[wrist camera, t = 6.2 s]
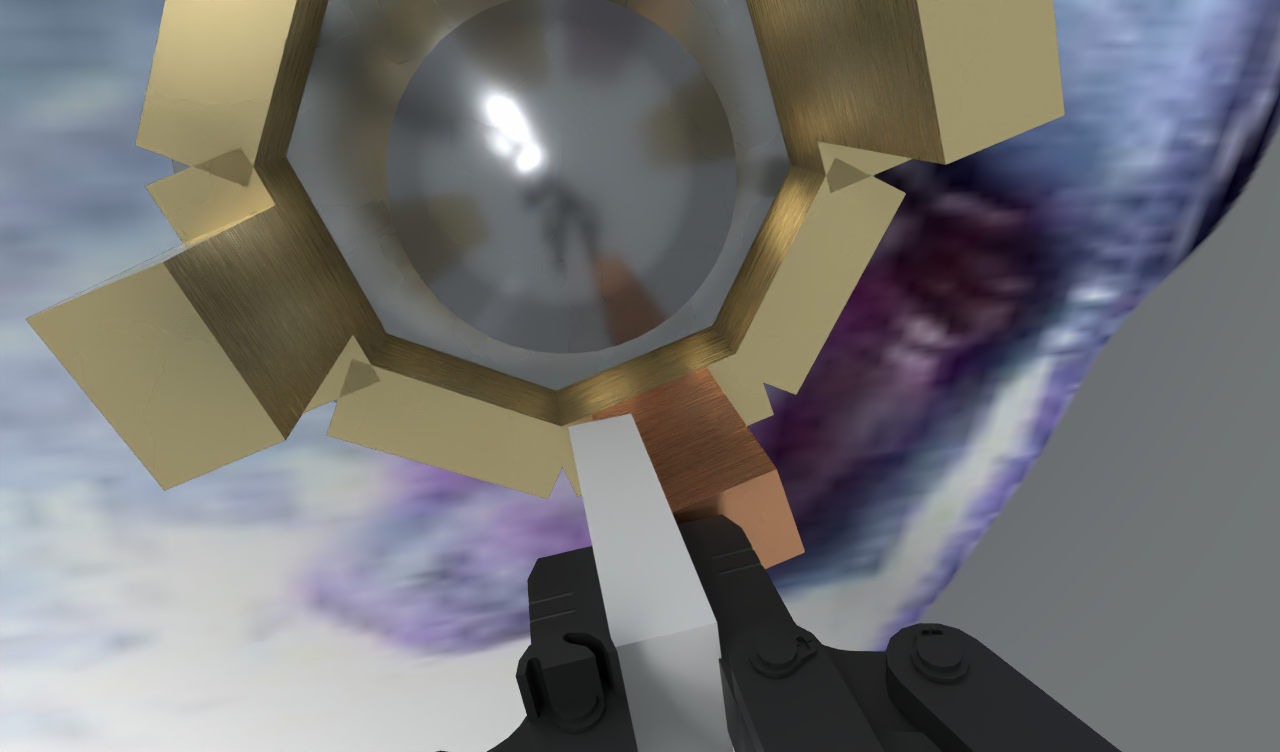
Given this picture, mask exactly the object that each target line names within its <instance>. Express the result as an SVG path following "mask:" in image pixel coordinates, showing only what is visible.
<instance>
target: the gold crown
mask: <svg viewBox="0 0 1280 752" xmlns="http://www.w3.org/2000/svg"><path fill="white" fill-rule="evenodd" d="M328 2H329V0H165V5H164V10H163V14H162V19H161V24H160V29H159V34H158V38H157V43H156V48H155V53H154V58H153V62H152V67H151V72H150V77H149V81H148V86H147V91H146V96H145V101H144V105H143V110H142V115H141V120H140V125H139V129H138V134H137V139H136V144H135V145H136V146H139V147H141V148H144V149H147V150H149V151H152V152H155V153H157V154H160V155H163V156H165V157H168V158H170V159H173V160H176V161H178V162H181V163H184V164H186V165H189V166H192V167H190V168H188V169H185V170H183V171H180V172H178V173H175V174H173V175H171V176H168V177H166V178H163V179H161V180H158V181H156V182H154V183H151V184H149V185H146V186H145V187H146V189H147V190H148V192H149V193H150V195H151V196H152V198H153V199H154V201H155V202H156V203H157V205H158V206H159V208H160V209H161V211H162V212H163V214H164V215H165V217H166V218H167V220H168V221H169V223H170V224H171V226H172V227H173V229H174V230H175V232H176V233H177V235H178V236H179V238H180V239H181V241H182V242H183V244H181V245H179V246H176V247H174V248H172V249H170V250H168V251H166V252H164V253H162V254H160V255H158V256H156V257H153V258H151V259H149V260H147V261H145V262H143V263H141V264H139V265H137V266H135V267H133V268H131V269H128V270H126V271H124V272H122V273H120V274H118V275H116V276H114V277H112V278H110V279H108V280H105V281H103V282H101V283H99V284H97V285H95V286H93V287H91V288H89V289H87V290H85V291H83V292H80V293H78V294H76V295H74V296H72V297H70V298H68V299H66V300H64V301H62V302H60V303H57V304H55V305H53V306H51V307H49V308H47V309H45V310H43V311H41V312H39V313H37V314H35V315H32V316H30V317H28V318H26V320H27V322H28V323H29V324H30V325H31V327H32V328H33V329H34V330H35V332H36V333H37V334H38V335H39V336H40V338H41V339H42V340H43V341H44V343H45V344H46V345H47V346H48V348H49V349H50V350H51V351H52V353H53V354H54V355H55V356H56V357H57V359H58V360H59V361H60V362H61V364H62V365H63V366H64V367H65V369H66V370H67V371H68V372H69V374H70V375H71V376H72V377H73V378H74V380H75V381H76V382H77V383H78V385H79V386H80V387H81V388H82V390H83V391H84V392H85V393H86V394H87V396H88V397H89V398H90V399H91V401H92V402H93V403H94V404H95V406H96V407H97V408H98V409H99V411H100V412H101V413H102V414H103V415H104V417H105V418H106V419H107V420H108V422H109V423H110V424H111V425H112V427H113V428H114V429H115V430H116V432H117V433H118V434H119V435H120V436H121V438H122V439H123V440H124V441H125V443H126V444H127V445H128V446H129V448H130V449H131V450H132V451H133V453H134V454H135V455H136V456H137V457H138V459H139V460H140V461H141V462H142V464H143V465H144V466H145V467H146V469H147V470H148V471H149V472H150V474H151V475H152V476H153V477H154V478H155V480H156V481H157V482H158V483H159V485H160V486H161V487H162V488H163V490H164V491H165V490H167V489H170V488H172V487H174V486H177V485H179V484H182V483H184V482H186V481H189V480H191V479H194V478H196V477H198V476H201V475H203V474H206V473H208V472H210V471H213V470H215V469H218V468H220V467H222V466H225V465H227V464H230V463H232V462H234V461H237V460H239V459H242V458H244V457H246V456H249V455H251V454H254V453H256V452H258V451H261V450H263V449H266V448H268V447H270V446H273V445H275V444H278V443H280V442H282V441H285V440H286V439H287V437H288V436H289V434H290V432H291V431H292V429H293V428H294V426H295V425H296V423H297V422H298V420H299V418H300V417H301V415H302V414H303V413H305V412H307V411H309V410H312V409H314V408H317V407H319V406H321V405H324V404H326V403H329V402H331V401H333V400H336V399H338V398H339V399H338V402H337V405H336V408H335V411H334V414H333V417H332V420H331V423H330V426H329V429H328V432H327V436H331V437H334V438H338V439H341V440H345V441H348V442H352V443H355V444H358V445H362V446H365V447H369V448H372V449H376V450H379V451H383V452H386V453H390V454H393V455H397V456H400V457H404V458H407V459H410V460H414V461H417V462H421V463H424V464H428V465H431V466H435V467H438V468H442V469H445V470H449V471H452V472H456V473H459V474H462V475H466V476H469V477H473V478H476V479H480V480H483V481H487V482H490V483H494V484H497V485H501V486H504V487H508V488H511V489H514V490H518V491H521V492H525V493H528V494H532V495H535V496H539V497H542V498H546V499H548V497H549V495H550V493H551V491H552V488H553V486H554V484H555V482H556V480H557V477H558V475H559V473H560V471H561V468H562V467H563V469H564V471H565V473H566V475H567V477H568V479H569V481H570V483H571V485H572V487H573V489H574V491H575V493H576V495H577V497H579V496H581V495H582V493H581V488H580V483H579V478H578V473H577V468H576V463H575V458H574V453H573V449H572V444H571V439H570V434H569V429H568V427H569V426H574V425H578V424H583V423H588V422H592V421H597V420H603V419H607V418H612V417H617V416H621V415H626V414H632V417H633V419H634V421H635V424H636V426H637V429H638V431H639V434H640V436H641V438H642V441H643V443H644V446H645V448H646V451H647V453H648V456H649V458H650V460H651V463H652V465H653V468H654V470H655V473H656V475H657V477H658V480H659V482H660V485H661V487H662V490H663V492H664V494H665V497H666V499H667V502H668V504H669V507H670V509H671V512H672V514H673V516H674V519H675V521H676V524H682V523H686V522H690V521H695V520H699V519H703V518H707V517H712V516H716V515H720V514H723V515H724V516H726V517H727V518H729V519H730V520H731V521H733V522H734V523H736V524H737V525H739V526H740V527H742V529H743V531H744V532H745V534H746V536H747V538H748V540H749V542H750V543H751V545H752V548H753V550H754V551H755V552H756V554H757V556H758V558H759V560H760V561H761V565H763V567H764V569H767V568H769V567H771V566H774V565H776V564H778V563H781V562H783V561H786V560H788V559H790V558H793V557H795V556H797V555H800V554H802V553H804V552H805V551H804V548H803V545H802V542H801V539H800V536H799V533H798V530H797V527H796V524H795V521H794V518H793V515H792V512H791V509H790V507H789V504H788V501H787V498H786V495H785V492H784V489H783V486H782V483H781V480H780V477H779V474H778V471H777V469H776V467H775V466H774V464H773V463H772V461H771V460H770V459H769V457H768V456H767V454H766V453H765V451H764V450H763V448H762V447H761V445H760V444H759V443H758V441H757V440H756V438H755V437H754V435H753V434H752V432H751V431H750V430H749V428H748V427H747V426H748V425H751V424H753V423H755V422H758V421H760V420H763V419H765V418H767V417H770V416H772V415H774V414H773V411H772V408H771V405H770V402H769V399H768V396H767V393H766V390H765V387H764V383H766V384H769V385H771V386H774V387H777V388H779V389H782V390H785V391H787V392H790V393H793V394H795V395H796V394H797V393H798V391H799V389H800V387H801V385H802V383H803V382H804V380H805V378H806V376H807V374H808V372H809V371H810V369H811V367H812V365H813V363H814V361H815V360H816V358H817V356H818V354H819V352H820V350H821V349H822V347H823V345H824V343H825V341H826V339H827V338H828V336H829V334H830V332H831V330H832V328H833V327H834V325H835V323H836V321H837V319H838V317H839V316H840V314H841V312H842V310H843V308H844V306H845V305H846V303H847V301H848V299H849V297H850V295H851V294H852V292H853V290H854V288H855V286H856V284H857V283H858V281H859V279H860V277H861V275H862V273H863V272H864V270H865V268H866V266H867V264H868V262H869V261H870V259H871V257H872V255H873V253H874V251H875V250H876V248H877V246H878V244H879V242H880V240H881V239H882V237H883V235H884V233H885V231H886V229H887V228H888V226H889V224H890V222H891V220H892V218H893V217H894V215H895V213H896V211H897V209H898V207H899V206H900V204H901V202H902V200H903V198H904V196H905V195H906V193H904V192H902V191H900V190H899V189H897V188H895V187H893V186H891V185H889V184H887V183H885V182H883V181H881V180H879V179H877V178H875V177H873V175H875V174H878V173H880V172H883V171H885V170H887V169H890V168H892V167H895V166H897V165H899V164H902V163H904V162H907V161H909V160H911V159H917V160H923V161H928V162H934V163H939V164H945V165H946V164H949V163H951V162H953V161H956V160H958V159H961V158H963V157H965V156H968V155H970V154H973V153H975V152H977V151H980V150H982V149H985V148H987V147H989V146H992V145H994V144H997V143H999V142H1001V141H1004V140H1006V139H1009V138H1011V137H1013V136H1016V135H1018V134H1021V133H1023V132H1025V131H1028V130H1030V129H1033V128H1035V127H1037V126H1040V125H1042V124H1045V123H1047V122H1049V121H1052V120H1054V119H1056V118H1059V117H1061V116H1064V115H1065V114H1064V104H1063V94H1062V84H1061V74H1060V64H1059V54H1058V44H1057V34H1056V24H1055V14H1054V4H1053V0H746V2H747V6H748V9H749V13H750V17H751V20H752V24H753V28H754V32H755V35H756V39H757V43H758V46H759V50H760V54H761V57H762V61H763V65H764V69H765V72H766V76H767V80H768V83H769V87H770V91H771V95H772V98H773V102H774V106H775V109H776V113H777V117H778V121H779V124H780V128H781V132H782V135H783V139H784V143H785V147H786V150H787V154H788V158H789V161H790V165H791V166H790V168H789V170H788V172H787V174H786V176H785V178H784V180H783V182H782V184H781V186H780V188H779V190H778V192H777V194H776V196H775V198H774V200H773V202H772V204H771V207H770V209H769V211H768V213H767V215H766V217H765V219H764V221H763V223H762V225H761V227H760V229H759V231H758V233H757V235H756V237H755V239H754V241H753V243H752V245H751V247H750V249H749V251H748V253H747V256H746V258H745V260H744V262H743V264H742V266H741V268H740V270H739V272H738V274H737V276H736V278H735V280H734V282H733V284H732V286H731V288H730V290H729V292H728V294H727V296H726V298H725V300H724V302H723V305H722V307H721V309H720V311H719V313H718V315H717V317H716V319H715V321H714V323H713V325H712V326H710V327H707V328H705V329H703V330H700V331H698V332H695V333H693V334H691V335H688V336H686V337H684V338H681V339H679V340H676V341H674V342H672V343H669V344H667V345H664V346H662V347H660V348H657V349H655V350H652V351H650V352H648V353H645V354H643V355H640V356H638V357H636V358H633V359H631V360H628V361H626V362H624V363H621V364H619V365H617V366H614V367H612V368H609V369H607V370H605V371H602V372H600V373H597V374H595V375H593V376H590V377H588V378H585V379H583V380H581V381H578V382H576V383H573V384H571V385H569V386H566V387H564V388H561V389H559V390H557V391H556V390H553V389H550V388H547V387H544V386H541V385H538V384H535V383H532V382H529V381H526V380H524V379H521V378H518V377H515V376H512V375H509V374H506V373H503V372H500V371H497V370H494V369H491V368H488V367H485V366H482V365H479V364H476V363H473V362H470V361H467V360H464V359H462V358H459V357H456V356H453V355H450V354H447V353H444V352H441V351H438V350H435V349H432V348H429V347H426V346H423V345H420V344H417V343H414V342H411V341H408V340H405V339H402V338H400V337H397V336H394V335H391V334H388V333H387V332H386V330H385V328H384V327H383V325H382V323H381V321H380V320H379V318H378V316H377V314H376V313H375V311H374V309H373V307H372V306H371V304H370V302H369V300H368V299H367V297H366V295H365V293H364V292H363V290H362V288H361V287H360V285H359V283H358V281H357V280H356V278H355V276H354V274H353V273H352V271H351V269H350V267H349V266H348V264H347V262H346V260H345V259H344V257H343V255H342V253H341V252H340V250H339V248H338V246H337V245H336V243H335V241H334V239H333V238H332V236H331V234H330V232H329V231H328V229H327V227H326V225H325V224H324V222H323V220H322V218H321V217H320V215H319V213H318V211H317V210H316V208H315V206H314V204H313V203H312V201H311V199H310V197H309V196H308V194H307V192H306V190H305V189H304V187H303V185H302V184H301V182H300V180H299V178H298V177H297V175H296V173H295V171H294V170H293V168H292V166H291V164H290V163H289V161H288V159H287V157H286V155H287V152H288V148H289V144H290V141H291V137H292V134H293V130H294V126H295V123H296V119H297V115H298V112H299V108H300V104H301V101H302V97H303V93H304V90H305V86H306V82H307V79H308V75H309V71H310V68H311V64H312V60H313V57H314V53H315V49H316V46H317V42H318V39H319V35H320V31H321V28H322V24H323V20H324V17H325V13H326V9H327V6H328Z"/></svg>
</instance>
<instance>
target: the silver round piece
mask: <svg viewBox="0 0 1280 752" xmlns="http://www.w3.org/2000/svg"><path fill="white" fill-rule="evenodd" d="M286 157H287V159H288V161H289V163H290V164H291V166H292V168H293V170H294V171H295V173H296V175H297V177H298V178H299V180H300V182H301V184H302V185H303V187H304V189H305V190H306V192H307V194H308V196H309V197H310V199H311V201H312V203H313V204H314V206H315V208H316V210H317V211H318V213H319V215H320V217H321V218H322V220H323V222H324V224H325V225H326V227H327V229H328V231H329V232H330V234H331V236H332V238H333V239H334V241H335V243H336V245H337V246H338V248H339V250H340V252H341V253H342V255H343V257H344V259H345V260H346V262H347V264H348V266H349V267H350V269H351V271H352V273H353V274H354V276H355V278H356V280H357V281H358V283H359V285H360V287H361V288H362V290H363V292H364V293H365V295H366V297H367V299H368V300H369V302H370V304H371V306H372V307H373V309H374V311H375V313H376V314H377V316H378V318H379V320H380V321H381V323H382V325H383V327H384V328H385V330H386V332H387V333H388V334H391V335H394V336H397V337H400V338H402V339H405V340H408V341H411V342H414V343H417V344H420V345H423V346H426V347H429V348H432V349H435V350H438V351H441V352H444V353H447V354H450V355H453V356H456V357H459V358H462V359H464V360H467V361H470V362H473V363H476V364H479V365H482V366H485V367H488V368H491V369H494V370H497V371H500V372H503V373H506V374H509V375H512V376H515V377H518V378H521V379H524V380H526V381H529V382H532V383H535V384H538V385H541V386H544V387H547V388H550V389H553V390H556V391H557V390H559V389H561V388H564V387H566V386H569V385H571V384H573V383H576V382H578V381H581V380H583V379H585V378H588V377H590V376H593V375H595V374H597V373H600V372H602V371H605V370H607V369H609V368H612V367H614V366H617V365H619V364H621V363H624V362H626V361H628V360H631V359H633V358H636V357H638V356H640V355H643V354H645V353H648V352H650V351H652V350H655V349H657V348H660V347H662V346H664V345H667V344H669V343H672V342H674V341H676V340H679V339H681V338H684V337H686V336H688V335H691V334H693V333H695V332H698V331H700V330H703V329H705V328H707V327H710V326H712V325H713V323H714V321H715V319H716V317H717V315H718V313H719V311H720V309H721V307H722V305H723V302H724V300H725V298H726V296H727V294H728V292H729V290H730V288H731V286H732V284H733V282H734V280H735V278H736V276H737V274H738V272H739V270H740V268H741V266H742V264H743V262H744V260H745V258H746V256H747V253H748V251H749V249H750V247H751V245H752V243H753V241H754V239H755V237H756V235H757V233H758V231H759V229H760V227H761V225H762V223H763V221H764V219H765V217H766V215H767V213H768V211H769V209H770V207H771V204H772V202H773V200H774V198H775V196H776V194H777V192H778V190H779V188H780V186H781V184H782V182H783V180H784V178H785V176H786V174H787V172H788V170H789V168H790V166H791V165H790V161H789V158H788V154H787V150H786V147H785V143H784V139H783V135H782V132H781V128H780V124H779V121H778V117H777V113H776V109H775V106H774V102H773V98H772V95H771V91H770V87H769V83H768V80H767V76H766V72H765V69H764V65H763V61H762V57H761V54H760V50H759V46H758V43H757V39H756V35H755V32H754V28H753V24H752V20H751V17H750V13H749V9H748V6H747V2H746V0H329V2H328V6H327V9H326V13H325V17H324V20H323V24H322V28H321V31H320V35H319V39H318V42H317V46H316V49H315V53H314V57H313V60H312V64H311V68H310V71H309V75H308V79H307V82H306V86H305V90H304V93H303V97H302V101H301V104H300V108H299V112H298V115H297V119H296V123H295V126H294V130H293V134H292V137H291V141H290V144H289V148H288V152H287V155H286ZM172 163H173V168H174V173H178V172H180V171H183V170H185V169H188V168H190V167H192V166H189V165H186V164H184V163H181V162H178V161H176V160H173V159H172ZM874 176H875V175H873V177H874ZM338 399H339V398H338ZM338 399H336V400H333V401H334V402H336V403H337V402H338Z"/></svg>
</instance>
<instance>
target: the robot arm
mask: <svg viewBox="0 0 1280 752" xmlns="http://www.w3.org/2000/svg"><path fill="white" fill-rule="evenodd" d="M568 429H569V434H570V439H571V444H572V449H573V453H574V458H575V463H576V468H577V473H578V478H579V483H580V488H581V493H582V498H583V503H584V508H585V513H586V517H587V522H588V527H589V532H590V537H591V542H592V546H590V547H586V548H582V549H577V550H573V551H569V552H564V553H560V554H556V555H552V556H547V557H543V558H539V559H538V560H537V562H536V564H535V566H534V568H533V570H532V572H531V574H530V576H529V578H528V597H529V614H530V632H531V645H530V646H529V647H528V648H527V650H526V651H525V653H524V654H523V656H522V657H521V658H520V660H519V663H518V668H517V673H516V679H517V682H518V686H519V689H520V693H521V696H522V700H523V703H524V706H525V710H526V713H527V716H526V717H525V719H524V721H523V722H522V724H521V725H520V726H519V727H518V728H517V729H516V730H515V731H514V732H513V733H512V734H511V735H510V736H509V737H508V738H507V739H506V740H504V741H503V742H501V743H500V744H498V745H497V746H496V747H494V748H492V749H490V750H489V751H487V752H733V747H734V750H735V752H1121V751H1120V750H1119V749H1117V748H1116V747H1115V746H1113V745H1112V744H1111V743H1110V742H1108V741H1107V740H1106V739H1104V738H1103V737H1102V736H1100V735H1099V734H1098V733H1097V732H1095V731H1094V730H1093V729H1091V728H1090V727H1089V726H1088V725H1086V724H1085V723H1084V722H1082V721H1081V720H1080V719H1078V718H1077V717H1076V716H1075V715H1073V714H1072V713H1071V712H1070V711H1068V710H1067V709H1066V708H1064V707H1063V706H1062V705H1061V704H1059V703H1058V702H1057V701H1055V700H1054V699H1053V698H1052V697H1050V696H1049V695H1047V694H1046V693H1045V692H1044V691H1043V690H1041V689H1040V688H1039V687H1037V686H1036V685H1035V684H1033V683H1032V682H1031V681H1030V680H1028V679H1027V678H1026V677H1024V676H1023V675H1022V674H1021V673H1019V672H1018V671H1017V670H1015V669H1014V668H1013V667H1011V666H1010V665H1009V664H1008V663H1006V662H1005V661H1004V660H1003V659H1001V658H1000V657H999V656H997V655H996V654H995V653H994V652H992V651H991V650H990V649H988V648H987V647H986V646H984V645H983V644H982V643H981V642H979V641H978V640H977V639H975V638H973V637H972V636H970V635H968V634H966V633H964V632H963V631H961V630H959V629H956V628H953V627H949V626H945V625H942V624H923V623H919V624H916V625H912V626H909V627H906V628H902V629H901V630H900V631H899V632H897V633H896V634H895V635H894V636H893V637H891V638H890V641H889V644H888V647H887V649H886V652H874V651H847V650H838V649H835V648H831V647H828V646H824V645H822V644H821V643H820V641H819V640H818V639H817V638H816V637H815V636H814V635H813V634H812V633H811V632H809V631H807V630H805V629H803V628H801V627H799V626H797V625H796V624H795V622H794V621H793V619H792V617H791V615H790V614H789V612H788V610H787V608H786V606H785V605H784V603H783V601H782V599H781V597H780V596H779V594H778V592H777V590H776V588H775V587H774V585H773V583H772V581H771V579H770V578H769V576H768V574H767V572H766V570H765V569H764V567H763V565H761V561H760V560H759V558H758V556H757V554H756V552H755V551H754V550H753V548H752V545H751V543H750V542H749V540H748V538H747V536H746V534H745V532H744V531H743V529H742V527H740V526H739V525H737V524H736V523H734V522H733V521H731V520H730V519H729V518H727V517H726V516H724V515H723V514H720V515H716V516H712V517H707V518H703V519H699V520H695V521H690V522H686V523H682V524H676V521H675V519H674V516H673V514H672V512H671V509H670V507H669V504H668V502H667V499H666V497H665V494H664V492H663V490H662V487H661V485H660V482H659V480H658V477H657V475H656V473H655V470H654V468H653V465H652V463H651V460H650V458H649V456H648V453H647V451H646V448H645V446H644V443H643V441H642V438H641V436H640V434H639V431H638V429H637V426H636V424H635V421H634V419H633V417H632V414H626V415H621V416H617V417H612V418H607V419H603V420H597V421H592V422H588V423H583V424H578V425H574V426H569V427H568ZM437 752H446V751H437Z"/></svg>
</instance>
